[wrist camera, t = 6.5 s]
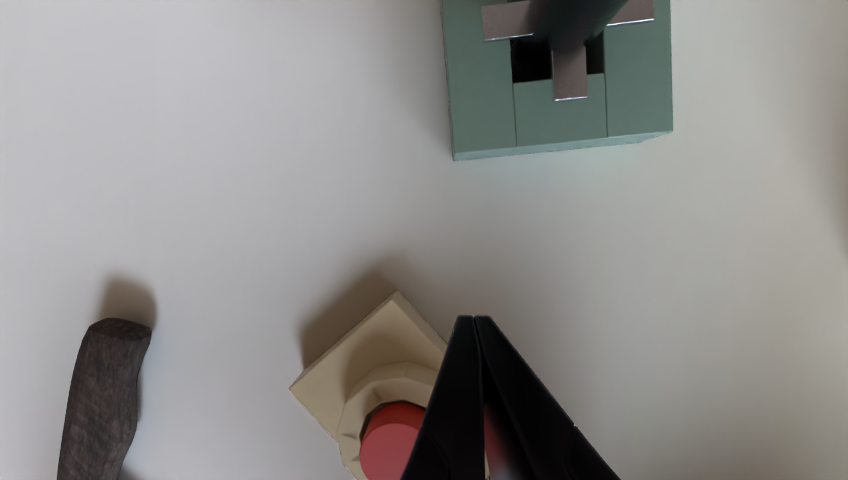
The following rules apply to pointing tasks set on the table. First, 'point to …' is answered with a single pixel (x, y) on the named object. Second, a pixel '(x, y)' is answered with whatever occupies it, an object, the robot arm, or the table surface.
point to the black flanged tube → (558, 36)
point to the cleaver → (102, 401)
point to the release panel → (372, 374)
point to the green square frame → (532, 101)
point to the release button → (390, 440)
